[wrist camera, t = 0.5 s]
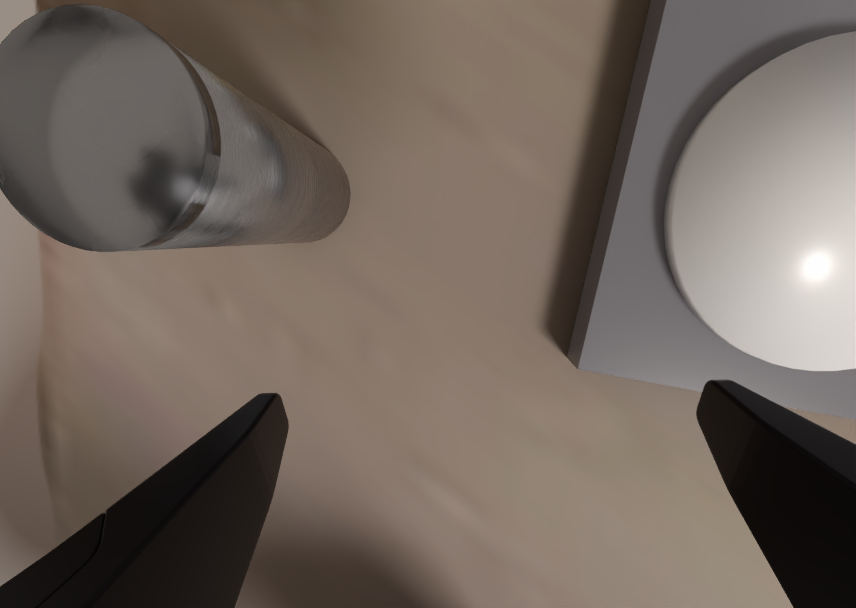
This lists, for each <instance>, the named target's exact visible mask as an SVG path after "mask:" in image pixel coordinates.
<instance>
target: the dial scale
mask: <svg viewBox="0 0 856 608" xmlns="http://www.w3.org/2000/svg"><path fill="white" fill-rule="evenodd" d="M567 358H568V359H569V360H570V361H571V362H572V364H573V365H574V366H575V367H576V368H577V369H579V370H585V371H590V372H596V373H601V374H607V375H612V376H618V377H623V378H629V379H634V380H640V381H645V382H651V383H656V384H662V385H667V386H673V387H678V388H684V389H689V390H695V391H700V392H702V391H703V388H704V385H705V383H706V382H707V381H709V380H720V379H728V380H732V381H734V382H736V383H738V384H740V385H742V386H744V387H746V388H748V389H750V390H752V391H754V392H755V393H757V394H759V395H761V396H763V397H765V398H767V399H769V400H771V401H773V402H775V403H777V404H779V405H781V406H783V407H788V408H794V409H799V410H805V411H810V412H816V413H821V414H827V415H832V416H838V417H843V418H849V419H854V420H856V0H651V1H650V5H649V10H648V14H647V18H646V23H645V27H644V31H643V35H642V40H641V44H640V48H639V52H638V57H637V61H636V65H635V69H634V74H633V78H632V82H631V86H630V91H629V95H628V99H627V103H626V108H625V112H624V116H623V120H622V125H621V129H620V133H619V137H618V142H617V146H616V150H615V154H614V159H613V163H612V167H611V171H610V176H609V180H608V184H607V188H606V193H605V197H604V201H603V205H602V210H601V214H600V218H599V223H598V227H597V231H596V235H595V240H594V244H593V248H592V252H591V257H590V261H589V265H588V269H587V274H586V278H585V282H584V286H583V291H582V295H581V299H580V303H579V308H578V312H577V316H576V320H575V325H574V329H573V333H572V337H571V342H570V346H569V350H568V354H567Z"/></svg>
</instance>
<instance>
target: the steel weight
mask: <svg viewBox="0 0 856 608" xmlns="http://www.w3.org/2000/svg"><path fill="white" fill-rule="evenodd" d="M0 188H1V190H2V192H3V193H4V195H5V196H6V197H7V199H8V200H9V201H10V203H11V204H12V205H13V206H14V207H15V209H16V210H17V211H18V212H19V213H20V214H21V215H22V216H23V217H24V218H25V219H26V220H28V221H29V222H30V223H31V224H32V225H33V226H35V227H36V228H37V229H39V230H40V231H42V232H43V233H45V234H46V235H48V236H50V237H52V238H54V239H55V240H57V241H59V242H62V243H64V244H67V245H70V246H72V247H76V248H80V249H84V250H89V251H98V252H115V251H136V250H157V249H178V248H199V247H220V246H241V245H262V244H283V243H304V242H313V241H317V240H320V239H322V238H325V237H327V236H328V235H330V234H331V233H332V232H334V231H335V230H336V229H337V228H338V227H339V225H340V224H341V223H342V221H343V220H344V218H345V216H346V213H347V211H348V208H349V203H350V186H349V181H348V178H347V175H346V173H345V170H344V168H343V167H342V165H341V164H340V162H339V161H338V160H337V159H336V158H335V157H334V156H333V155H332V154H331V153H330V152H329V151H327V150H326V149H324V148H323V147H321V146H320V145H319V144H317V143H316V142H314V141H313V140H311V139H310V138H308V137H307V136H305V135H304V134H302V133H301V132H300V131H298V130H297V129H295V128H294V127H292V126H291V125H289V124H288V123H286V122H285V121H283V120H282V119H281V118H279V117H278V116H276V115H275V114H273V113H272V112H270V111H269V110H267V109H266V108H265V107H263V106H262V105H260V104H259V103H257V102H256V101H254V100H253V99H251V98H250V97H248V96H247V95H246V94H244V93H243V92H241V91H240V90H238V89H237V88H235V87H234V86H232V85H231V84H229V83H228V82H227V81H225V80H224V79H222V78H221V77H219V76H218V75H216V74H215V73H213V72H212V71H210V70H209V69H208V68H206V67H205V66H203V65H202V64H200V63H199V62H197V61H196V60H194V59H193V58H192V57H190V56H189V55H187V54H186V53H184V52H183V51H181V50H180V49H178V48H177V47H175V46H174V45H173V44H171V43H170V42H168V41H167V40H165V39H164V38H162V37H161V36H159V35H158V34H156V33H155V32H154V31H152V30H151V29H149V28H148V27H146V26H145V25H143V24H142V23H140V22H138V21H137V20H135V19H133V18H131V17H129V16H128V15H125V14H123V13H120V12H118V11H115V10H112V9H109V8H104V7H100V6H95V5H84V4H76V5H64V6H59V7H54V8H50V9H48V10H45V11H43V12H40V13H37V14H35V15H34V16H32V17H30V18H29V19H27V20H25V21H24V22H22V23H21V24H20V25H19V26H17V27H16V28H15V29H14V30H12V32H11V33H10V34H9V35H8V36H7V37H6V38H5V39H4V40H3V41H2V43H1V44H0Z"/></svg>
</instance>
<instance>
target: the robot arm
mask: <svg viewBox="0 0 856 608" xmlns="http://www.w3.org/2000/svg"><path fill="white" fill-rule="evenodd" d="M696 414H697V420H698V423H699V425H700V428H701V430H702V432H703V434H704V437H705V439H706V441H707V444H708V446H709V448H710V451H711V453H712V455H713V458H714V460H715V462H716V465H717V467H718V469H719V471H720V474H721V476H722V478H723V481H724V483H725V485H726V487H727V489H728V491H729V493H730V495H731V497H732V498H733V500H734V502H735V504H736V506H737V508H738V509H739V511H740V513H741V515H742V516H743V518H744V520H745V522H746V524H747V525H748V527H749V529H750V531H751V533H752V534H753V536H754V538H755V540H756V541H757V543H758V545H759V547H760V549H761V550H762V552H763V554H764V556H765V557H766V559H767V561H768V563H769V565H770V566H771V568H772V570H773V572H774V573H775V575H776V577H777V579H778V581H779V582H780V584H781V586H782V588H783V590H784V591H785V593H786V595H787V597H788V598H789V600H790V602H791V604H792V606H793V607H794V608H856V444H854V443H852V442H850V441H848V440H846V439H844V438H842V437H840V436H839V435H837V434H835V433H833V432H831V431H829V430H827V429H825V428H823V427H821V426H819V425H817V424H815V423H813V422H812V421H810V420H808V419H806V418H804V417H802V416H800V415H798V414H796V413H794V412H792V411H790V410H788V409H786V408H784V407H783V406H781V405H779V404H777V403H775V402H773V401H771V400H769V399H767V398H765V397H763V396H761V395H759V394H757V393H755V392H754V391H752V390H750V389H748V388H746V387H744V386H742V385H740V384H738V383H736V382H734V381H732V380H728V379H720V380H709V381H707V382H706V383H705V385H704V388H703V391H702V394H701V397H700V401H699V404H698V407H697V412H696ZM288 427H289V424H288V419H287V415H286V412H285V409H284V405H283V402H282V399H281V397H280V395H279V394H277V393H262V394H259V395H257V396H256V397H254V398H253V399H252V400H250V401H249V402H248V403H246V404H245V405H244V406H242V407H241V408H240V409H238V410H237V411H236V412H234V413H233V414H232V415H231V416H229V417H228V418H227V419H225V420H224V421H223V422H221V423H220V424H219V425H217V426H216V427H215V428H213V429H212V430H211V431H209V432H208V433H207V434H206V435H204V436H203V437H202V438H200V439H199V440H198V441H196V442H195V443H194V444H192V445H191V446H190V447H188V448H187V449H186V450H184V451H183V452H182V453H181V454H179V455H178V456H177V457H175V458H174V459H173V460H171V461H170V462H169V463H167V464H166V465H165V466H163V467H162V468H161V469H159V470H158V471H157V472H156V473H154V474H153V475H152V476H150V477H149V478H148V479H146V480H145V481H144V482H142V483H141V484H140V485H138V486H137V487H136V488H134V489H133V490H132V491H131V492H129V493H128V494H127V495H125V496H124V497H123V498H121V499H120V500H119V501H117V502H116V503H115V504H113V505H112V506H111V507H109V508H108V509H107V510H106V512H105V513H102V514H100V515H99V516H97V517H96V518H95V519H94V520H92V521H91V522H90V523H88V524H87V525H86V526H84V527H83V528H82V529H80V530H79V531H78V532H76V533H75V534H74V535H72V536H71V537H69V538H68V539H67V540H65V541H64V542H63V543H61V544H60V545H59V546H57V547H56V548H55V549H53V550H52V551H51V552H49V553H48V554H46V555H45V556H43V557H42V558H41V559H39V560H38V561H36V562H35V563H34V564H32V565H31V566H29V567H28V568H26V569H25V570H24V571H22V572H21V573H19V574H18V575H16V576H15V577H13V578H12V579H10V580H9V581H8V582H6V583H5V584H3V585H2V586H0V608H234V607H235V604H236V602H237V599H238V596H239V593H240V590H241V587H242V584H243V581H244V579H245V576H246V573H247V570H248V567H249V564H250V561H251V559H252V556H253V553H254V550H255V547H256V544H257V541H258V538H259V536H260V533H261V530H262V527H263V524H264V521H265V518H266V516H267V513H268V510H269V507H270V504H271V501H272V497H273V494H274V490H275V486H276V482H277V477H278V473H279V469H280V464H281V460H282V456H283V451H284V447H285V443H286V438H287V434H288Z"/></svg>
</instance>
